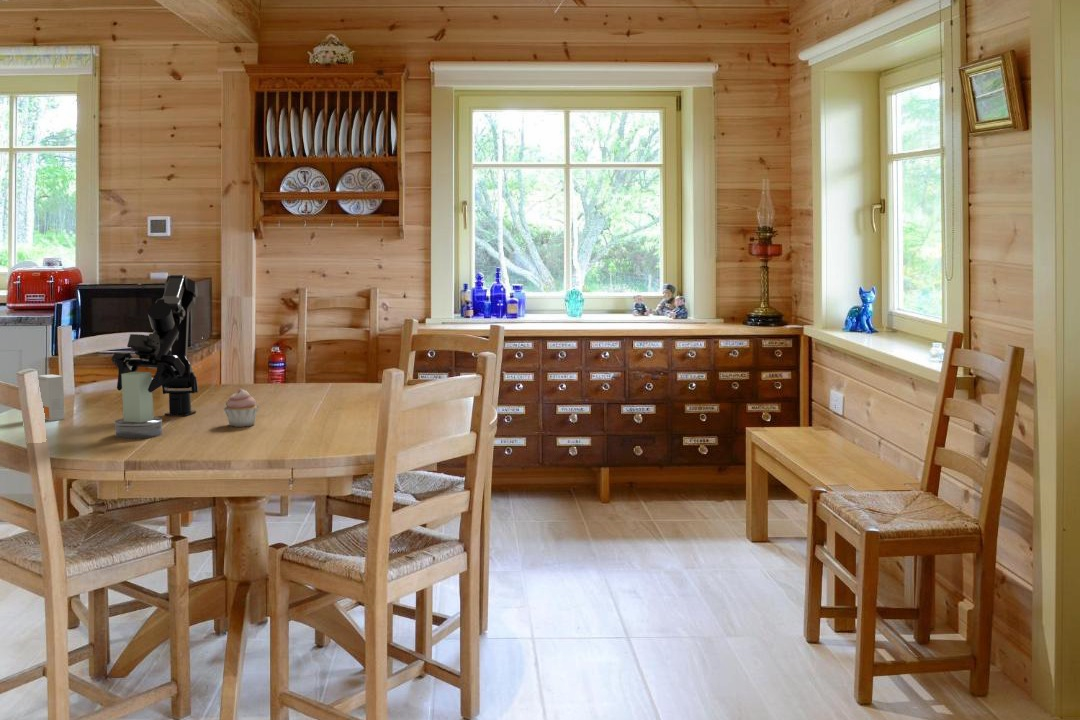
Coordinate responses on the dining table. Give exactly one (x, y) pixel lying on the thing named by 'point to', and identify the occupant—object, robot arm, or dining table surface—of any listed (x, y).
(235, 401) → the cupcake
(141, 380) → the sage block
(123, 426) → the charcoal tin
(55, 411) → the skincare box
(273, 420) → the dining table surface
